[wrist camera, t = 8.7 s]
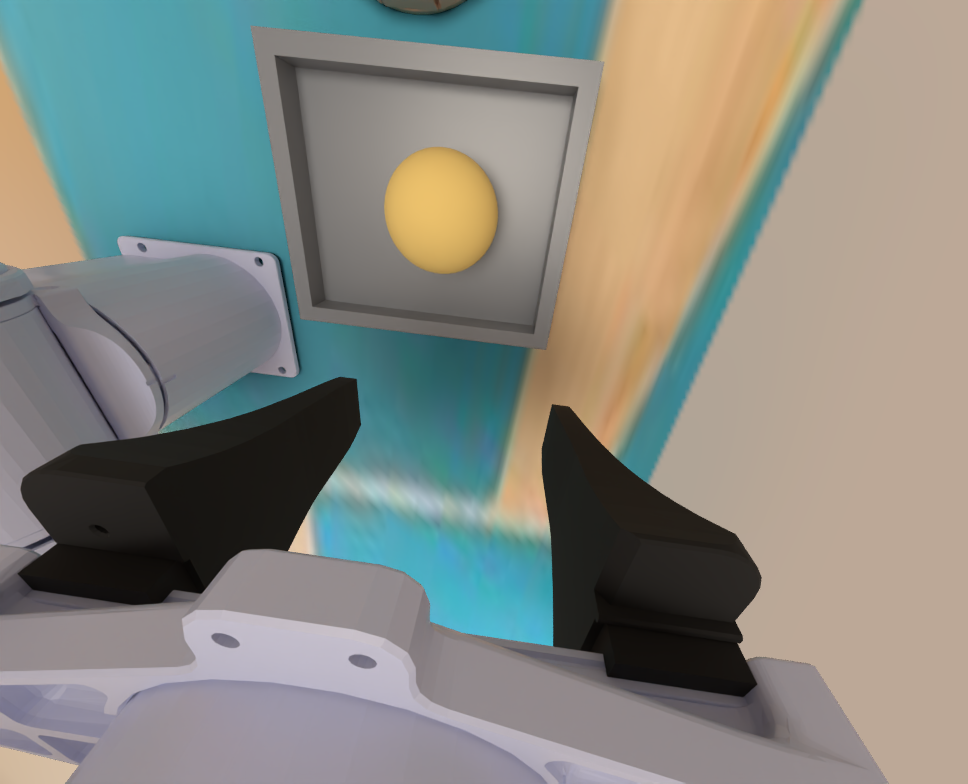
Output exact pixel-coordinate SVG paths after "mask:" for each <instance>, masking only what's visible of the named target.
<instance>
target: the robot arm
mask: <svg viewBox="0 0 968 784" xmlns="http://www.w3.org/2000/svg"><path fill="white" fill-rule="evenodd" d="M117 242H118V246H119V248H120V251H121V253H122V255H120V256H113V257H106V258H99V259H92V260H85V261H78V262H71V263H64V264H58V265H50V266H43V267H36V268H29V269H22V270H21V269H19V268H16V267H13V266H8V265H5V264H3V263H1V262H0V746H1V747H5V748H9V749H13V750H17V751H22V752H26V753H30V754H34V755H38V756H43V757H47V758H50V759H55V760H59V761H63V762H67V763H71V764H75V765H79V766H78V768H77V769H76V770H75V771H74V773H73V774H72V775H71V777H70V778H69V779H68V780H67V782H66V783H65V784H889V783H888V781H887V779H886V778H885V776H884V775H883V773H882V772H881V770H880V769H879V767H878V765H877V764H876V762H875V761H874V759H873V757H872V756H871V754H870V753H869V751H868V750H867V748H866V746H865V745H864V743H863V742H862V740H861V739H860V737H859V735H858V734H857V732H856V731H855V729H854V727H853V726H852V724H851V723H850V721H849V719H848V718H847V716H846V715H845V713H844V712H843V710H842V708H841V707H840V705H839V704H838V702H837V701H836V699H835V697H834V696H833V694H832V693H831V691H830V689H829V688H828V686H827V685H826V683H825V682H824V680H823V678H822V677H821V676H820V674H819V672H818V671H817V669H816V667H815V666H813V665H811V664H807V663H801V662H794V661H788V660H780V659H774V658H767V657H755V658H750V659H748V660H745V658H744V656H743V654H742V652H741V650H740V648H739V646H738V644H737V643H741V642H742V641H743V636H742V634H741V632H740V630H739V628H738V626H737V624H736V622H735V620H736V619H737V618H738V617H739V615H740V614H741V613H742V612H743V611H744V609H745V608H746V607H747V606H748V605H749V604H750V602H751V601H752V600H753V599H754V597H755V596H756V594H757V592H758V591H759V589H760V585H761V575H760V572H759V570H758V568H757V566H756V564H755V563H754V561H753V560H752V558H751V557H750V555H749V554H748V552H747V551H746V549H745V548H744V546H743V544H742V543H741V542H740V540H739V538H738V537H737V536H736V534H734V533H732V532H730V531H728V530H726V529H724V528H722V527H720V526H718V525H716V524H714V523H712V522H710V521H708V520H706V519H704V518H702V517H700V516H698V515H697V514H695V513H693V512H691V511H690V510H688V509H686V508H685V507H683V506H681V505H679V504H678V503H676V502H674V501H673V500H671V499H670V498H668V497H666V496H665V495H663V494H662V493H660V492H659V491H657V490H656V489H654V488H653V487H652V486H650V485H649V484H647V483H646V482H645V481H643V480H642V479H641V478H639V477H638V476H637V475H635V474H634V473H633V472H632V471H630V470H629V469H628V468H627V467H626V466H624V465H623V464H622V463H621V462H620V461H619V460H618V459H616V458H615V457H614V456H613V455H612V454H611V453H610V452H609V451H608V450H607V449H606V448H605V447H604V446H603V445H602V444H601V443H600V442H599V441H598V440H597V439H596V437H595V436H594V435H593V434H592V433H591V432H590V431H589V430H588V428H587V427H586V426H585V425H584V424H583V423H582V421H581V420H580V419H579V418H578V417H577V415H576V414H575V413H574V412H573V411H572V409H571V408H570V407H568V406H561V405H553V404H552V407H551V411H550V416H549V420H548V424H547V429H546V433H545V437H544V442H543V446H542V476H543V483H544V490H545V497H546V503H547V510H548V517H549V523H550V532H551V548H552V576H553V646H546V645H539V644H532V643H526V642H519V641H512V640H506V639H499V638H492V637H486V636H479V635H472V634H465V633H461V632H458V631H455V630H452V629H449V628H446V627H444V626H441V625H438V624H435V623H432V622H430V619H429V618H430V603H429V600H428V598H427V595H426V593H425V590H424V588H423V587H422V586H421V584H419V583H418V582H417V581H415V580H414V579H413V578H411V577H410V576H409V575H407V574H406V573H405V572H403V571H399V570H396V569H393V568H390V567H386V566H383V565H379V564H372V563H365V562H358V561H351V560H344V559H337V558H330V557H323V556H316V555H309V554H302V553H296V552H289V551H288V550H289V548H290V546H291V544H292V542H293V540H294V538H295V536H296V534H297V532H298V530H299V528H300V526H301V524H302V522H303V520H304V519H305V517H306V515H307V513H308V511H309V509H310V507H311V505H312V504H313V502H314V500H315V499H316V497H317V496H318V494H319V492H320V491H321V490H322V488H323V487H324V485H325V484H326V482H327V481H328V479H329V478H330V476H331V475H332V473H333V472H334V471H335V469H336V468H337V466H338V465H339V463H340V462H341V460H342V459H343V457H344V456H345V454H346V453H347V451H348V450H349V448H350V447H351V445H352V443H353V441H354V439H355V437H356V434H357V432H358V430H359V428H360V426H361V421H360V410H359V400H358V390H357V379H352V378H345V377H338V378H335V379H332V380H330V381H327V382H325V383H322V384H320V385H318V386H315V387H313V388H311V389H308V390H306V391H304V392H301V393H299V394H297V395H294V396H292V397H290V398H287V399H284V400H282V401H279V402H277V403H274V404H272V405H269V406H266V407H264V408H261V409H258V410H255V411H252V412H249V413H246V414H243V415H240V416H236V417H233V418H230V419H226V420H222V421H218V422H214V423H210V424H206V425H202V426H197V427H193V428H189V429H184V430H179V431H174V432H169V433H163V434H158V431H159V430H161V429H163V428H164V427H166V426H167V425H169V424H170V423H172V422H173V421H175V420H177V419H178V418H180V417H181V416H183V415H184V414H186V413H187V412H189V411H190V410H192V409H194V408H195V407H197V406H198V405H200V404H201V403H203V402H204V401H206V400H207V399H209V398H211V397H212V396H214V395H215V394H217V393H218V392H220V391H221V390H223V389H225V388H226V387H228V386H229V385H231V384H232V383H234V382H235V381H237V380H238V379H240V378H242V377H243V376H245V375H246V374H248V373H249V372H253V373H261V374H269V375H276V376H284V377H295V376H296V375H298V374H299V366H298V360H297V355H296V350H295V344H294V339H293V333H292V328H291V323H290V317H289V312H288V307H287V301H286V296H285V290H284V285H283V280H282V274H281V269H280V264H279V260H278V259H277V257H276V256H275V255H273V254H271V253H267V252H258V251H250V250H242V249H234V248H225V247H217V246H209V245H200V244H192V243H184V242H175V241H167V240H159V239H150V238H142V237H134V236H121V237H119V238H118V241H117ZM144 245H145V247H146V248H147V250H146V249H145V247H144ZM259 258H261V259H262V260H263V265H262V264H261V263H260V262H259ZM282 367H283V368H285V370H286V371H284V370H283V369H282Z"/></svg>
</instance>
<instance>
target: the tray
mask: <svg viewBox="0 0 968 784" xmlns="http://www.w3.org/2000/svg"><path fill="white" fill-rule="evenodd" d="M251 31H252V37H253V43H254V49H255V55H256V60H257V66H258V72H259V78H260V84H261V90H262V96H263V102H264V107H265V113H266V119H267V125H268V131H269V137H270V143H271V149H272V154H273V160H274V166H275V172H276V178H277V184H278V190H279V195H280V201H281V207H282V213H283V219H284V225H285V231H286V237H287V242H288V248H289V254H290V260H291V266H292V272H293V278H294V284H295V289H296V295H297V301H298V307H299V313H300V319H304V320H312V321H320V322H328V323H336V324H344V325H352V326H360V327H368V328H376V329H384V330H392V331H400V332H408V333H416V334H424V335H432V336H440V337H448V338H456V339H464V340H472V341H480V342H488V343H496V344H504V345H512V346H519V347H527V348H535V349H543V350H546V347H547V342H548V338H549V333H550V328H551V323H552V318H553V313H554V308H555V303H556V298H557V293H558V288H559V283H560V278H561V273H562V268H563V263H564V258H565V254H566V249H567V244H568V239H569V234H570V229H571V224H572V219H573V214H574V209H575V204H576V199H577V194H578V189H579V184H580V179H581V174H582V169H583V165H584V160H585V155H586V150H587V145H588V140H589V135H590V130H591V125H592V120H593V115H594V110H595V105H596V100H597V95H598V90H599V85H600V80H601V76H602V71H603V66H604V62H601V61H592V60H582V59H572V58H562V57H552V56H542V55H533V54H523V53H513V52H503V51H493V50H484V49H474V48H464V47H454V46H444V45H434V44H425V43H415V42H405V41H395V40H385V39H375V38H366V37H356V36H346V35H336V34H326V33H317V32H307V31H297V30H287V29H277V28H267V27H258V26H251ZM430 147H446V148H451V149H454V150H457V151H459V152H461V153H463V154H465V155H467V156H468V157H470V158H471V159H473V160H474V161H475V162H476V163H477V164H478V165H479V166H480V167H481V168H482V169H483V171H484V172H485V174H486V175H487V177H488V178H489V180H490V182H491V184H492V186H493V189H494V192H495V195H496V200H497V206H498V222H497V228H496V232H495V236H494V238H493V241H492V243H491V245H490V247H489V248H488V250H487V251H486V253H485V254H484V255H483V256H482V257H481V258H480V260H478V261H477V262H476V263H475V264H474V265H472V266H470V267H469V268H467V269H465V270H463V271H460V272H456V273H450V274H439V273H433V272H429V271H426V270H423V269H421V268H419V267H417V266H416V265H414V264H413V263H411V262H410V261H409V260H408V259H407V258H405V257H404V256H403V255H402V253H401V252H400V251H399V250H398V248H397V247H396V245H395V244H394V242H393V240H392V238H391V236H390V234H389V231H388V228H387V224H386V220H385V213H384V201H385V194H386V189H387V186H388V183H389V180H390V178H391V176H392V174H393V173H394V171H395V170H396V168H397V167H398V166H399V165H400V164H401V163H402V161H403V160H405V159H406V158H407V157H409V156H410V155H411V154H413V153H415V152H417V151H419V150H422V149H425V148H430Z"/></svg>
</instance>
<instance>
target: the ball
mask: <svg viewBox="0 0 968 784" xmlns="http://www.w3.org/2000/svg"><path fill="white" fill-rule="evenodd" d="M384 213H385V220H386V224H387V228H388V231H389V234H390V236H391V238H392V240H393V242H394V244H395V245H396V247H397V248H398V250H399V251H400V252H401V253H402V255H403V256H404V257H405V258H407V259H408V260H409V261H410V262H411V263H413V264H414V265H416V266H417V267H419V268H421V269H423V270H426V271H429V272H433V273H439V274H450V273H456V272H460V271H463V270H465V269H467V268H469V267H470V266H472V265H474V264H475V263H476V262H477V261H478V260H480V258H481V257H482V256H483V255H484V254H485V253H486V251H487V250H488V248H489V247H490V245H491V243H492V241H493V238H494V236H495V232H496V228H497V222H498V206H497V200H496V195H495V192H494V189H493V186H492V184H491V182H490V180H489V178H488V177H487V175H486V174H485V172H484V171H483V169H482V168H481V167H480V166H479V165H478V164H477V163H476V162H475V161H474V160H473V159H471V158H470V157H468V156H467V155H465V154H463V153H461V152H459V151H457V150H454V149H451V148H446V147H430V148H425V149H422V150H419V151H417V152H415V153H413V154H411V155H410V156H409V157H407V158H406V159H405V160H403V161H402V163H401V164H400V165H399V166H398V167H397V168H396V170H395V171H394V173H393V174H392V176H391V178H390V180H389V183H388V186H387V189H386V194H385V201H384Z"/></svg>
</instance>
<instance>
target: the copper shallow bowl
mask: <svg viewBox="0 0 968 784" xmlns="http://www.w3.org/2000/svg"><path fill="white" fill-rule="evenodd" d="M377 1H378V2H379V3H383V4H384V5H385V6H388V7H390V8H393V9H396V10H398V11H401V12H405V13H410V14H434V13H439V12H443V11H446V10H449V9H451V8H454V7H456V6H458V5H459V4H461V3H463V2H465V1H466V0H377Z"/></svg>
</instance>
